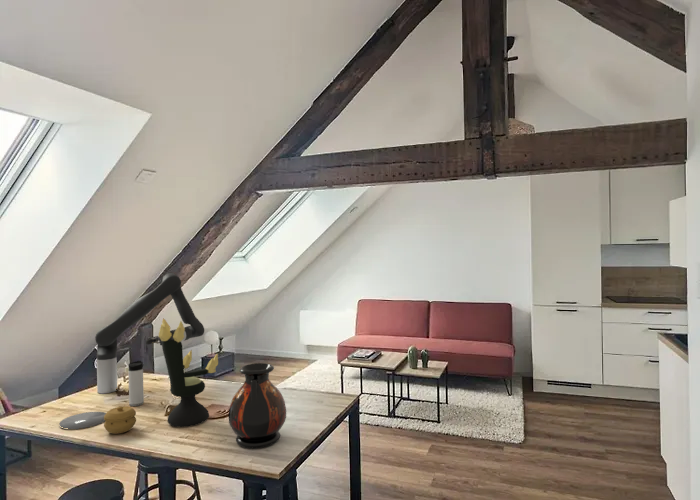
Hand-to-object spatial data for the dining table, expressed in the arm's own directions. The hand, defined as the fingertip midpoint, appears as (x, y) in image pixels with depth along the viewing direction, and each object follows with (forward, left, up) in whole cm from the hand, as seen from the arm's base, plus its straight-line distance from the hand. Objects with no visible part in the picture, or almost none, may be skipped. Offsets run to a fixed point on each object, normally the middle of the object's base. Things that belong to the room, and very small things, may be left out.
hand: (153, 342), depth 229 cm
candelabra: (+46, +5, -27) cm, 53 cm away
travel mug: (+8, -9, -27) cm, 30 cm away
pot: (+40, -19, -27) cm, 52 cm away
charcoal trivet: (+19, -31, -27) cm, 45 cm away
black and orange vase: (+81, +24, -27) cm, 88 cm away
